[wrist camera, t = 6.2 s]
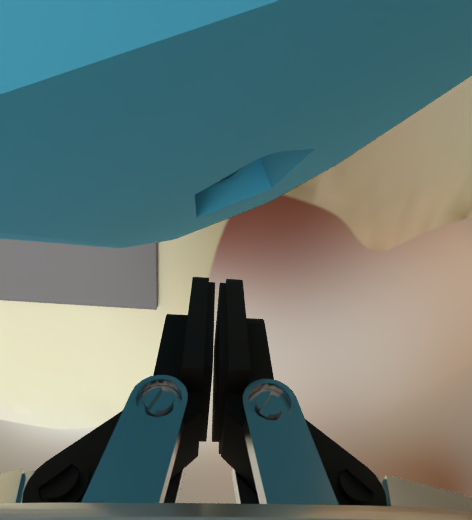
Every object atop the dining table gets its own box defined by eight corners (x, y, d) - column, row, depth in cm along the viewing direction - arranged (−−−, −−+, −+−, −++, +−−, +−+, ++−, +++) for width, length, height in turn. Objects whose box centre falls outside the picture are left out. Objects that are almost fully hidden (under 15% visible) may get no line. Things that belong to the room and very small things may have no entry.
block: (134, 255, 22) (-486, 258, 2) (102, 179, 22) (-939, -629, 2) (307, 186, 23) (983, -236, 3) (279, 114, 23) (826, -837, 3)
